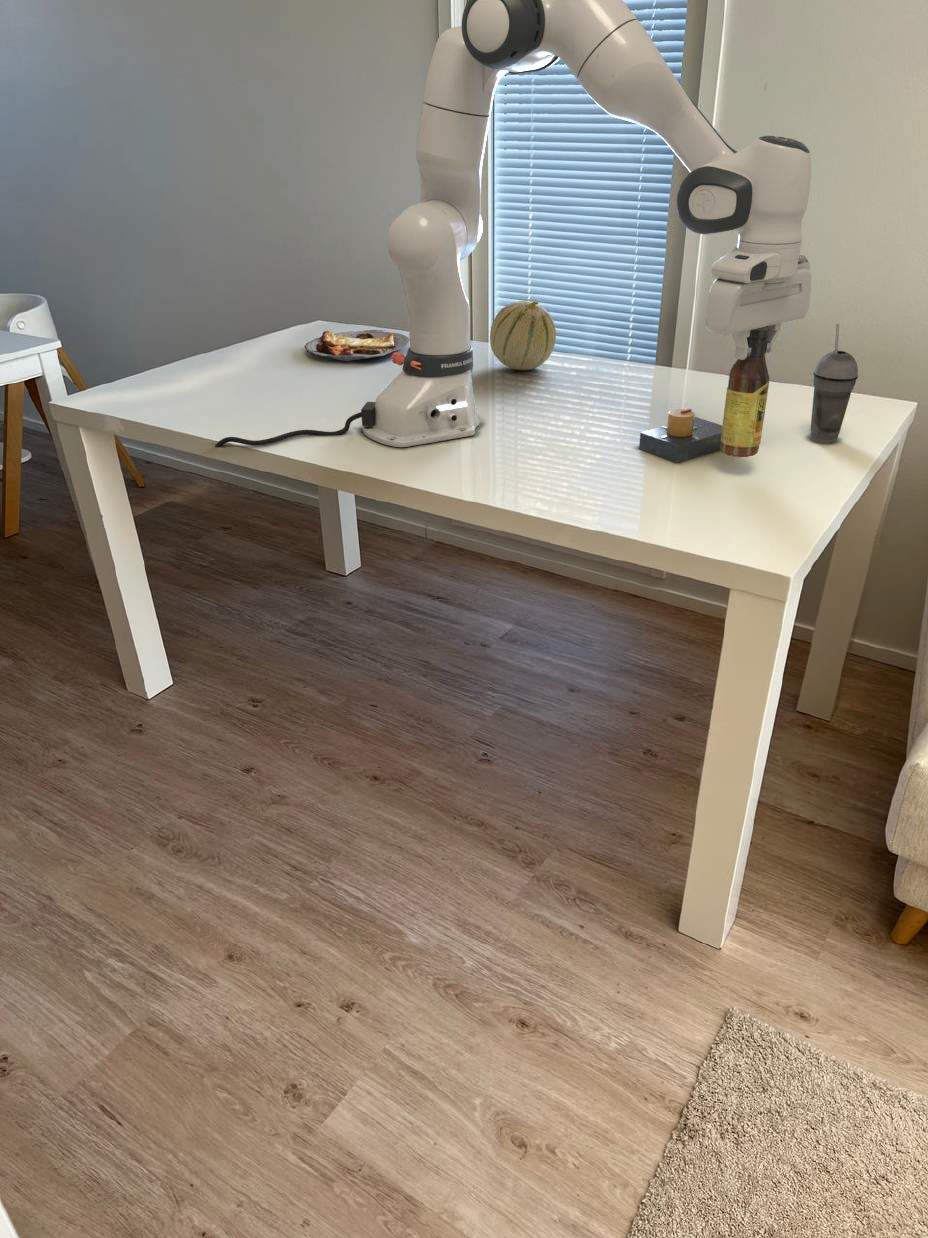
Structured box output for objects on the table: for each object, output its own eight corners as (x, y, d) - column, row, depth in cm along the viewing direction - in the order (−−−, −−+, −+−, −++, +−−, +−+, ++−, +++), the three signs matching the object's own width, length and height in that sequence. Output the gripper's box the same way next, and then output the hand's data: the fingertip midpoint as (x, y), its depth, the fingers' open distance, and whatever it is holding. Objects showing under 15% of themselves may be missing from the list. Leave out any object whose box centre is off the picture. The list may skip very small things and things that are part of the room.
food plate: (292, 362, 215) (291, 347, 213) (322, 338, 234) (321, 324, 233) (397, 366, 211) (396, 350, 209) (418, 341, 231) (417, 327, 229)
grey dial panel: (677, 463, 155) (679, 445, 154) (638, 448, 161) (640, 431, 160) (732, 445, 162) (734, 428, 161) (693, 432, 169) (695, 415, 167)
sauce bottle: (759, 460, 147) (779, 333, 137) (719, 457, 148) (736, 331, 138) (757, 446, 152) (776, 322, 142) (718, 444, 153) (734, 321, 143)
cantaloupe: (493, 359, 214) (493, 292, 207) (556, 360, 213) (558, 293, 205) (485, 377, 202) (485, 306, 194) (553, 378, 200) (555, 307, 192)
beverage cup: (839, 449, 160) (863, 331, 150) (797, 442, 163) (817, 326, 153) (849, 436, 165) (872, 322, 155) (807, 430, 168) (828, 317, 158)
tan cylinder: (680, 438, 157) (682, 417, 155) (661, 432, 160) (663, 410, 158) (697, 433, 159) (700, 411, 157) (678, 426, 162) (680, 405, 160)
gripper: (792, 250, 143) (778, 341, 150) (703, 265, 132) (693, 362, 139) (828, 255, 138) (812, 348, 145) (738, 271, 128) (726, 371, 135)
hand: (753, 355), depth 142 cm, fingers closed on sauce bottle, 4 cm apart
